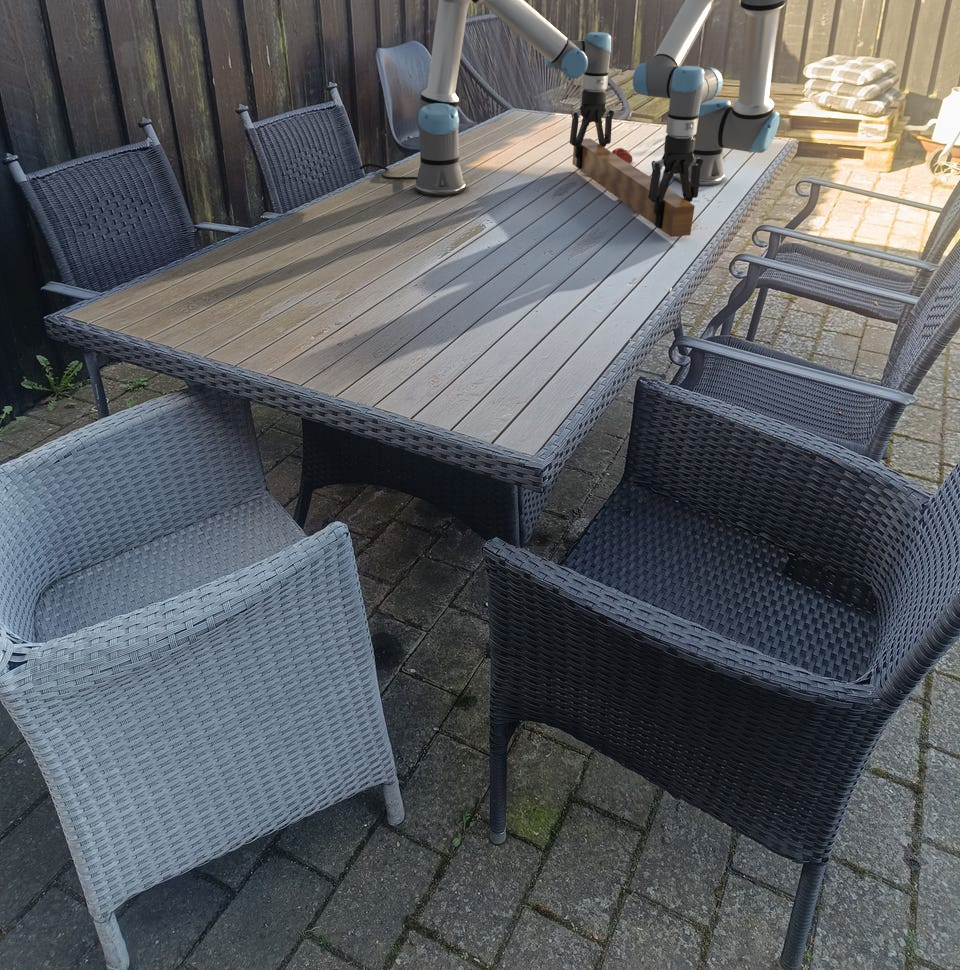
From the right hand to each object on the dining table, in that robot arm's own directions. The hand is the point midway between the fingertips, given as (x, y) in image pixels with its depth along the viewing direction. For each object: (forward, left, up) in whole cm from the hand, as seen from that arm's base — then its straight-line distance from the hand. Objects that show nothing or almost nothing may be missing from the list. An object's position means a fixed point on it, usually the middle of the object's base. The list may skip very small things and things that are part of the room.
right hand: (669, 225), depth 226 cm
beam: (-24, -18, -1) cm, 29 cm away
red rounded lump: (-65, -28, -2) cm, 70 cm away
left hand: (-47, -35, 0) cm, 59 cm away
